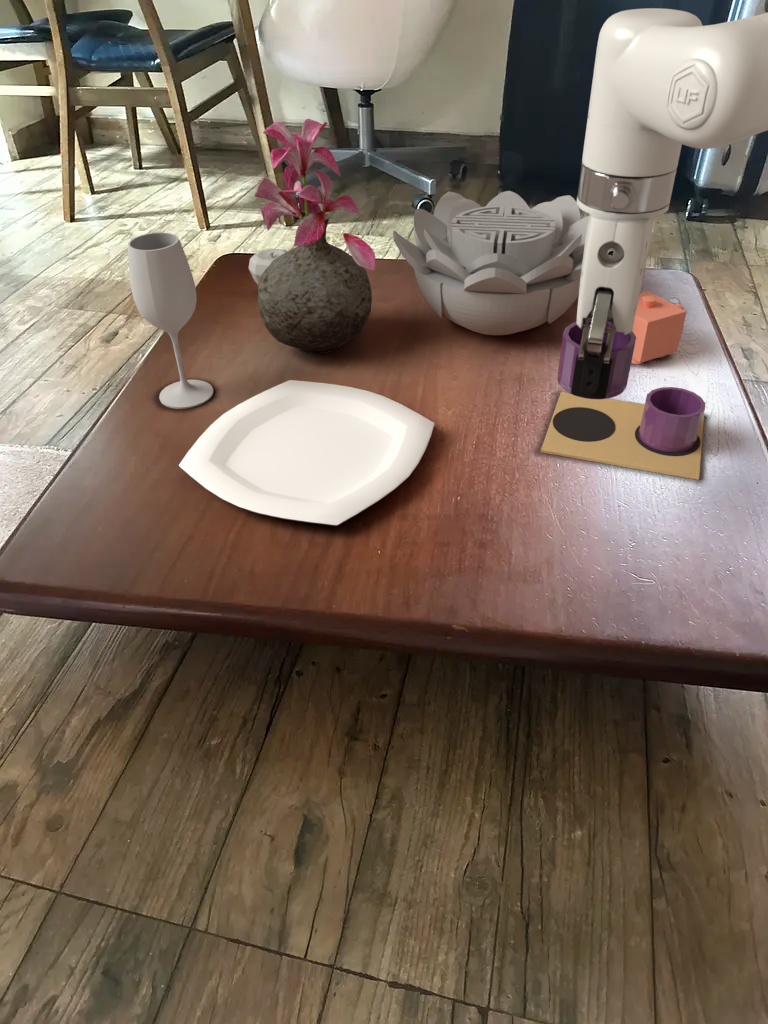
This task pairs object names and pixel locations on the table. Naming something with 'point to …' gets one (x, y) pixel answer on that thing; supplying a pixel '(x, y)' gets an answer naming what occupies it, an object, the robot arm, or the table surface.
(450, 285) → the decorative bowl
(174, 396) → the wineglass
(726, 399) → the table surface
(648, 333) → the pink cube teapot
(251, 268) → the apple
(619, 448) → the placemat
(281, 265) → the vase
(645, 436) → the plum dish
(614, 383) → the plum dish
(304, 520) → the plate
